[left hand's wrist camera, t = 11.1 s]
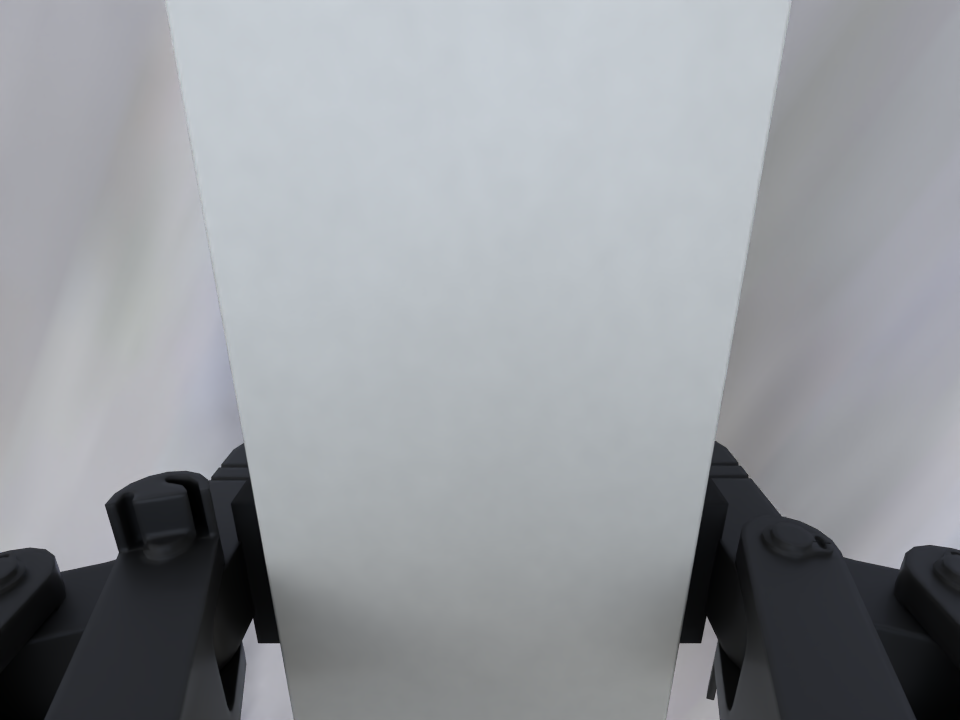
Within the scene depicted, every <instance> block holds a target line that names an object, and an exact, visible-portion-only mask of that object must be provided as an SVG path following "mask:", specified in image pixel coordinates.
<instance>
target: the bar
mask: <svg viewBox="0 0 960 720" xmlns="http://www.w3.org/2000/svg"><path fill="white" fill-rule="evenodd" d="M791 4H792V0H165V6H166V11H167V17H168V22H169V28H170V34H171V39H172V45H173V50H174V56H175V61H176V67H177V72H178V78H179V84H180V89H181V95H182V100H183V106H184V111H185V117H186V122H187V128H188V134H189V139H190V145H191V150H192V156H193V161H194V167H195V173H196V178H197V184H198V189H199V195H200V200H201V206H202V211H203V217H204V223H205V228H206V234H207V239H208V245H209V250H210V256H211V261H212V267H213V273H214V278H215V284H216V289H217V295H218V300H219V306H220V311H221V317H222V323H223V328H224V334H225V339H226V345H227V350H228V356H229V362H230V367H231V373H232V378H233V384H234V389H235V395H236V400H237V406H238V412H239V417H240V423H241V428H242V434H243V439H244V445H245V450H246V456H247V462H248V467H249V473H250V478H251V484H252V489H253V495H254V501H255V506H256V512H257V517H258V523H259V528H260V534H261V539H262V545H263V551H264V556H265V562H266V567H267V573H268V578H269V584H270V589H271V595H272V601H273V606H274V612H275V617H276V623H277V628H278V634H279V640H280V645H281V651H282V656H283V662H284V667H285V673H286V678H287V684H288V690H289V695H290V701H291V706H292V712H293V717H294V720H666V716H667V710H668V705H669V699H670V693H671V688H672V682H673V676H674V671H675V665H676V659H677V653H678V648H679V642H680V636H681V631H682V625H683V619H684V614H685V608H686V602H687V597H688V591H689V585H690V579H691V574H692V568H693V562H694V557H695V551H696V545H697V540H698V534H699V528H700V522H701V517H702V511H703V505H704V500H705V494H706V488H707V483H708V477H709V471H710V466H711V460H712V454H713V448H714V443H715V437H716V431H717V426H718V420H719V414H720V409H721V403H722V397H723V392H724V386H725V380H726V374H727V369H728V363H729V357H730V352H731V346H732V340H733V335H734V329H735V323H736V318H737V312H738V306H739V300H740V295H741V289H742V283H743V278H744V272H745V266H746V261H747V255H748V249H749V243H750V238H751V232H752V226H753V221H754V215H755V209H756V204H757V198H758V192H759V187H760V181H761V175H762V169H763V164H764V158H765V152H766V147H767V141H768V135H769V130H770V124H771V118H772V113H773V107H774V101H775V95H776V90H777V84H778V78H779V73H780V67H781V61H782V56H783V50H784V44H785V39H786V33H787V27H788V21H789V16H790V10H791Z"/></svg>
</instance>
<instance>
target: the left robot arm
mask: <svg viewBox="0 0 960 720" xmlns="http://www.w3.org/2000/svg"><path fill="white" fill-rule="evenodd" d="M105 507H106V510H107V514H108V517H109V520H110V524H111V527H112V530H113V534H114V537H115V540H116V544H117V547H118V550H119V554H118V557H117V559H116V560H113V561H110V562H106V563H101V564H96V565H92V566H87V567H82V568H77V569H73V570H68V571H63V572H60V570H59V567H58V564H57V562H56V559H55V556H54V555H53V554H51V553H50V552H49V551H47V550H46V549H38V548H24V549H17V550H10V551H6V552H2V553H0V720H240V717H241V708H242V699H243V689H244V680H245V671H246V659H245V652H244V648H243V643H242V640H243V638H244V636H245V633H246V631H247V629H248V627H249V625H250V623H251V621H252V619H254V624H255V630H256V635H257V640H258V643H280V640H279V634H278V628H277V623H276V617H275V612H274V606H273V601H272V595H271V589H270V584H269V578H268V573H267V567H266V562H265V556H264V551H263V545H262V539H261V534H260V528H259V523H258V517H257V512H256V506H255V501H254V495H253V489H252V484H251V478H250V473H249V467H248V462H247V456H246V450H245V445H244V443H243V444H242V445H240V446H238V447H237V448H235V449H234V450H233V451H232V452H231V453H230V455H229V456H228V457H227V458H226V460H225V461H224V462H223V463H222V465H221V468H218V470H217V471H216V472H215V473H214V475H213V476H212V477H211V480H209V481H208V479H206V478H205V477H204V476H202V475H201V474H199V473H194V472H189V471H174V472H165V473H161V474H157V475H152V476H148V477H146V478H143V479H141V480H138V481H136V482H133V483H131V484H129V485H128V486H126V487H124V488H123V489H121V490H120V491H118V492H117V493H115V494H114V495H113V496H112V497H111V498H110V500H109V501H108V502H107V503H106V504H105ZM706 616H707V617H708V619H709V621H710V624H711V626H712V628H713V630H714V632H715V634H716V636H717V638H718V643H717V648H716V652H715V657H714V662H713V666H712V671H711V676H710V681H709V685H708V691H707V699H711V700H714V698H715V693H716V689H717V697H718V706H719V715H720V720H960V550H957V549H953V548H947V547H940V546H933V545H926V546H917V547H913V548H912V549H911V550H909V551H908V552H906V553H905V556H904V559H903V562H902V565H901V568H900V570H899V569H894V568H889V567H885V566H880V565H875V564H870V563H865V562H861V561H856V560H852V559H848V558H844V557H843V556H842V553H841V552H840V550H839V549H838V548H837V546H836V545H835V544H834V542H833V541H832V540H831V539H830V538H828V537H827V536H826V535H824V534H823V533H822V532H820V531H819V530H818V529H816V528H813V527H811V526H809V525H807V524H805V523H803V522H801V521H798V520H794V519H790V518H786V517H782V516H781V515H780V514H779V512H778V511H777V510H776V509H775V508H774V506H773V505H772V504H771V503H770V501H769V500H768V499H767V498H766V496H765V495H764V494H763V493H762V491H761V490H760V489H759V488H758V487H757V485H756V484H755V483H754V482H753V480H752V479H751V478H748V474H747V473H746V472H745V470H744V469H743V468H742V467H741V466H738V462H737V461H736V459H735V458H734V457H733V456H732V454H731V453H730V452H729V451H728V449H727V448H726V447H724V446H723V445H721V444H719V443H718V442H716V441H715V443H714V448H713V454H712V460H711V466H710V471H709V477H708V483H707V488H706V494H705V500H704V505H703V511H702V517H701V522H700V528H699V534H698V540H697V545H696V551H695V557H694V562H693V568H692V574H691V579H690V585H689V591H688V597H687V602H686V608H685V614H684V619H683V625H682V631H681V636H680V642H679V643H701V641H702V636H703V631H704V626H705V621H706Z"/></svg>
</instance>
